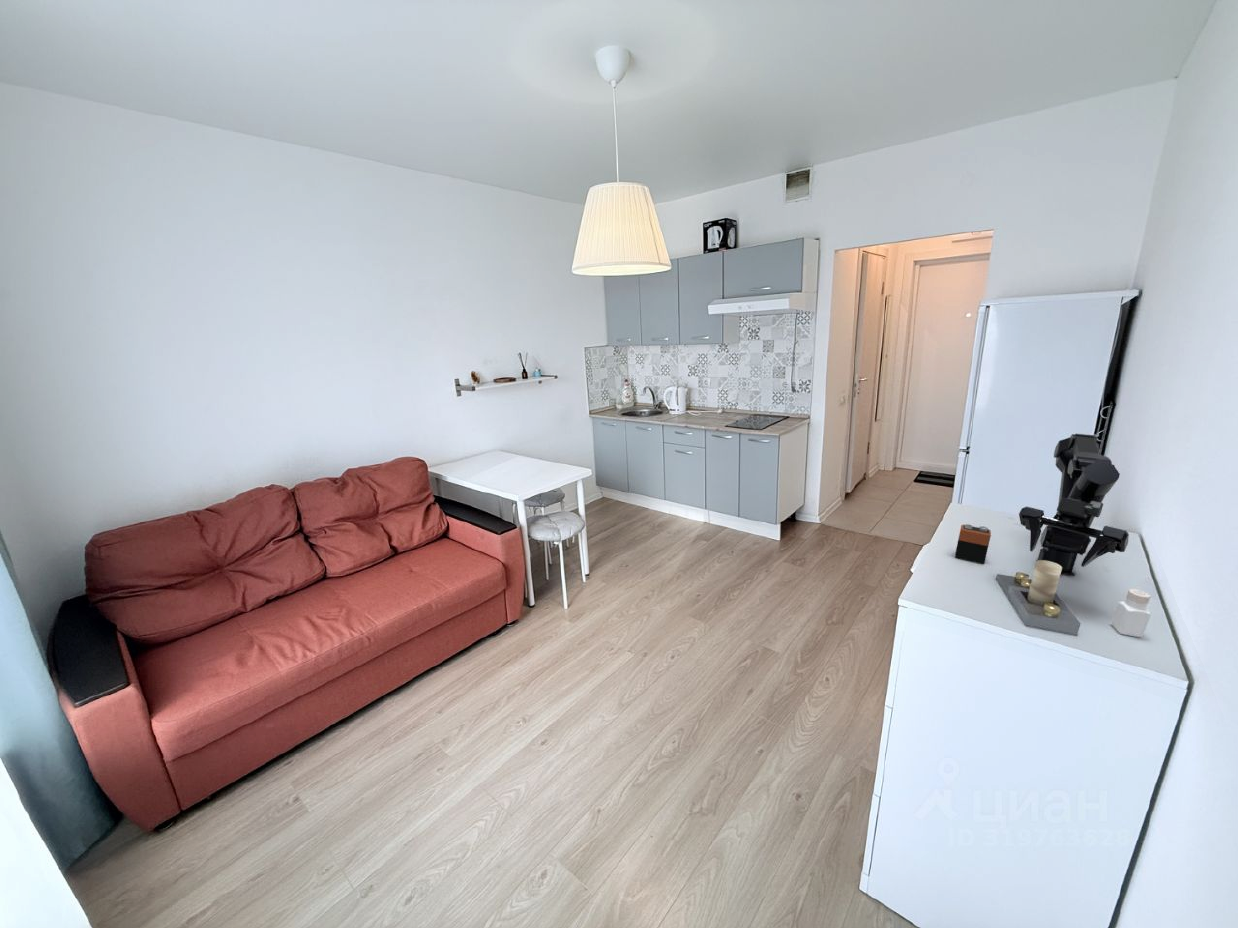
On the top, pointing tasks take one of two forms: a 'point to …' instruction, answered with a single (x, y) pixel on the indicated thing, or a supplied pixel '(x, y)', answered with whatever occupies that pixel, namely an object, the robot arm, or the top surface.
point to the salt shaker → (1132, 614)
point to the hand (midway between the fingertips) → (1055, 557)
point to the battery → (973, 543)
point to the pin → (1044, 583)
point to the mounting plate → (1037, 606)
